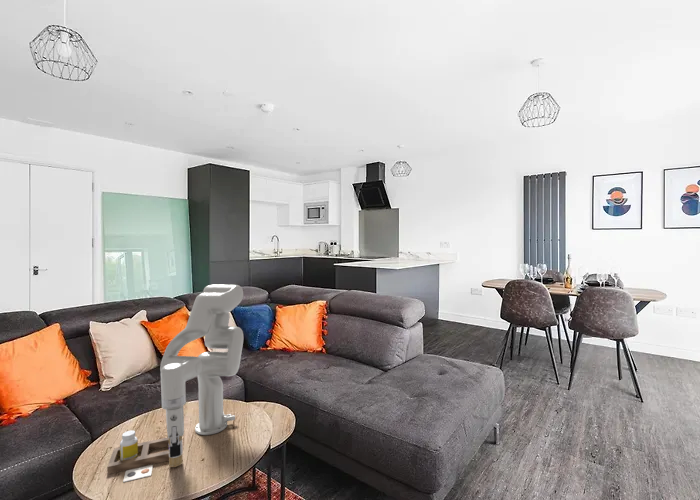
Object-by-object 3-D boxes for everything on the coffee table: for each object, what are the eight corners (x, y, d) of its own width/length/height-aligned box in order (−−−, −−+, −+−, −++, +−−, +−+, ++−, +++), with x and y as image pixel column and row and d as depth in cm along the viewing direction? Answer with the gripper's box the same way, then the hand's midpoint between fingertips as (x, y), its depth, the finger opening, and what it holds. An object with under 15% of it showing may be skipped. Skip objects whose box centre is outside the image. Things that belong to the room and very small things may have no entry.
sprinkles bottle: (166, 464, 125) (165, 426, 124) (179, 457, 128) (178, 421, 128) (172, 469, 122) (171, 430, 121) (185, 463, 125) (184, 425, 125)
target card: (152, 465, 125) (152, 464, 125) (151, 475, 120) (151, 474, 120) (126, 471, 122) (126, 470, 122) (122, 482, 116) (122, 481, 116)
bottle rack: (177, 441, 140) (177, 435, 140) (176, 458, 129) (176, 451, 129) (114, 455, 132) (114, 448, 131) (107, 474, 121) (107, 467, 120)
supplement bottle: (141, 458, 130) (140, 431, 129) (126, 466, 125) (126, 438, 124) (131, 454, 132) (131, 428, 132) (116, 462, 127) (116, 435, 127)
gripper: (185, 408, 118) (187, 463, 119) (186, 388, 133) (187, 436, 134) (159, 413, 115) (161, 469, 116) (163, 392, 130) (165, 441, 131)
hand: (175, 451), depth 125 cm, fingers closed on sprinkles bottle, 4 cm apart
